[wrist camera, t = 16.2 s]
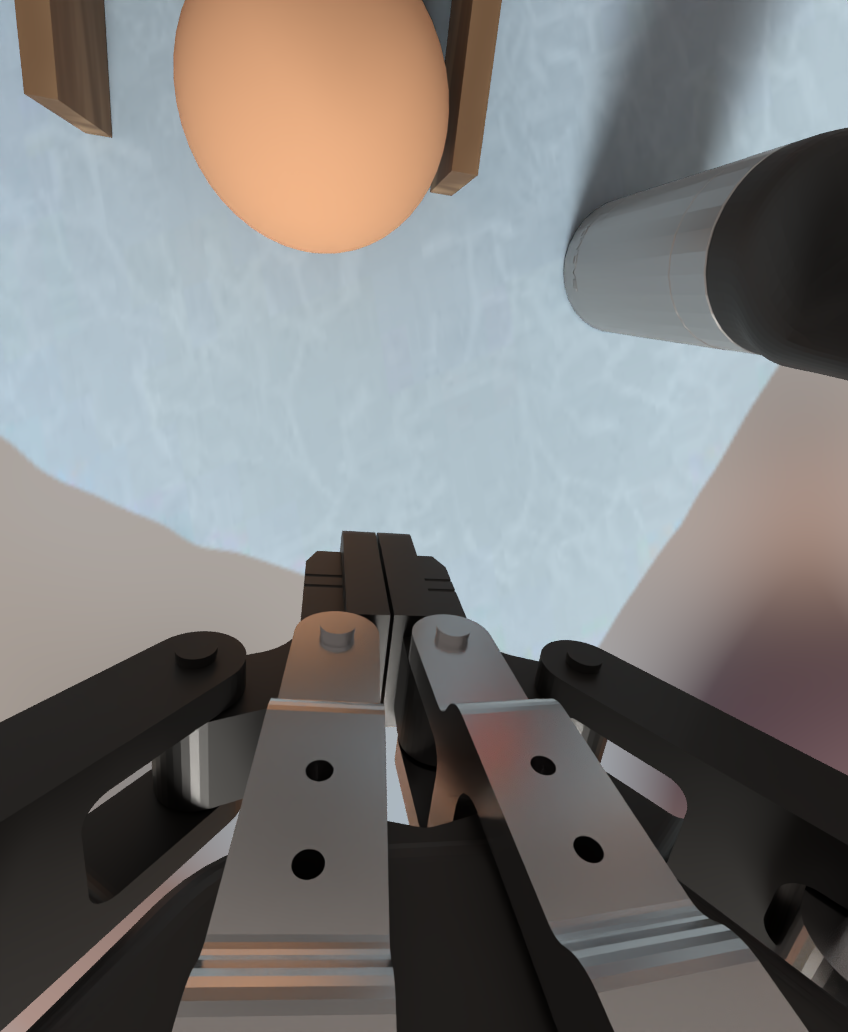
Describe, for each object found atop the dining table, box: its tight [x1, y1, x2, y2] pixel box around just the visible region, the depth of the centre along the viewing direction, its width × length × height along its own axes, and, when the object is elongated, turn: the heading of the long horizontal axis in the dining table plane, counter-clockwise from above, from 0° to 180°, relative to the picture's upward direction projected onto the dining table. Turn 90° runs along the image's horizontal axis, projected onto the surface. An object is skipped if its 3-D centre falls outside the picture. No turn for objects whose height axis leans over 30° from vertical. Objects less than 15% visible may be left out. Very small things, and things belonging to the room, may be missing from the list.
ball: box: [174, 0, 449, 253], centre depth 30 cm, size 14×14×14 cm
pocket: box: [15, 0, 502, 196], centre depth 31 cm, size 23×14×8 cm, turn 83°
